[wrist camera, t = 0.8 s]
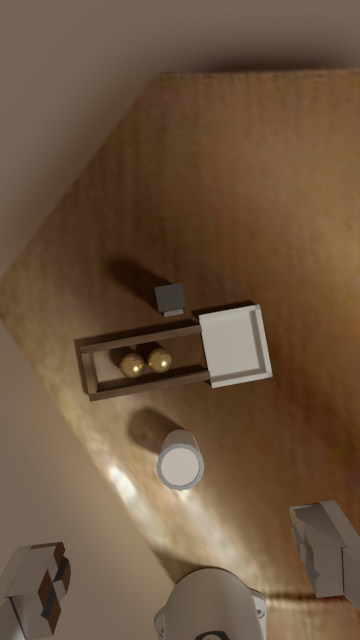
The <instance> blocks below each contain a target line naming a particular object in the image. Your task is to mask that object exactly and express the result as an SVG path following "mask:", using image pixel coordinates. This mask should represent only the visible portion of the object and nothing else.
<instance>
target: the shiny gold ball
mask: <svg viewBox="0 0 360 640" xmlns="http://www.w3.org/2000/svg"><path fill="white" fill-rule="evenodd" d="M172 362H173V359H172V355H171V354H170V352H169V351H168V350H166V349H164V348H157V349H154V350H153V351H152V352H151V353H150V354H149V356H148V365H149V367H150V369H151V370H152V371H154V372H156V373H164V372H166V371H168V370H169V369H170V367H171V365H172Z"/></svg>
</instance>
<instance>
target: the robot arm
mask: <svg viewBox="0 0 360 640" xmlns="http://www.w3.org/2000/svg"><path fill="white" fill-rule="evenodd" d="M290 513H291V518H292V520H293V522H294V524H293V525H292V533H293V538H294V542H295V546H296V548H297V551H298V554H299V556H300V559H301V560H302V561H303V562H304V563H305V564H306V570H307V576H308V578H309V581H310V583H311V585H312V588H313V590H314V592H315V595H316V597H317V598H319V597H328V596H337V595H345V597H346V598H347V599H348V600H349V601H350V602H351V603H352V604H353V605H354V606H355V607H356V608H357V609H358V610H359V611H360V537H359V536H358V534H357V533H356V531H355V530H354V528H353V527H352V525H351V524H350V522H349V521H348V519H347V518H346V516H345V515H344V513H343V512H342V510H341V509H340V507H339V506H338V504H337V503H336V502H335V501H334V500H332V501H325V502H319V503H312V504H306V505H300V506H293V507H291V509H290ZM64 552H65V548H64V545H63V543H62V542H57V543H48V544H40V545H33V546H25V547H19V548H18V549H17V550H16V551H15V552H14V553H13V555H12V557H11V559H10V561H9V563H8V565H7V566H6V568H5V570H4V572H3V574H2V576H1V577H0V640H33V639H38V638H44V637H50V636H53V634H54V631H55V628H56V625H57V621H58V619H59V616H60V612H61V608H60V604H59V602H60V601H61V600H62V599H63V598H64V596H65V595H66V594H67V590H68V587H69V582H70V575H71V571H70V564H69V560H68V559H67V558H66V557H64V556H63V554H64ZM154 626H155V629H156V632H157V634H158V637H159V639H160V640H266V601H265V598H264V596H263V595H262V594H260V593H258V592H256V591H254V590H251V589H249V588H248V587H246V586H245V585H244V584H243V583H242V582H241V581H240V580H239V579H238V578H237V577H236V576H234V575H232V574H231V573H229V572H226V571H223V570H220V569H202V570H198V571H195V572H193V573H190V574H189V575H187V576H185V577H184V578H183V579H182V580H181V581H180V582H179V583H178V584H177V585H176V586H175V588H174V589H173V591H172V593H171V595H170V597H169V599H168V602H167V603H166V605H165V606H164V607H163V608H162V609H161V610H160V611H159V612H158V613H157V614H156V616H155V618H154ZM163 628H164V629H163Z"/></svg>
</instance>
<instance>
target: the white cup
mask: <svg viewBox="0 0 360 640" xmlns="http://www.w3.org/2000/svg"><path fill="white" fill-rule="evenodd" d="M203 470H204V463H203V458H202V455H201V453H200V450H199V448H198V445H197V443H196V440H195V438H194V437H193V435H192V434H191V433H189V432H188V431H186V430H181V429H179V430H174V431H172V432H171V433H169V434H168V435H167V436H166V438H165V439H164V442H163V446H162V449H161V452H160V455H159V458H158V463H157V471H158V476H159V478H160V479H161V481H162V482H163V484H165V485H166V486H168V487H169V488H171V489H175V490H179V491H180V490H186V489H190V488H191V487H193V486H194V485H196V484H197V483H198V482H199V480H200V479H201V477H202V475H203Z"/></svg>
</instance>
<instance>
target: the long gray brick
mask: <svg viewBox="0 0 360 640" xmlns="http://www.w3.org/2000/svg"><path fill="white" fill-rule="evenodd" d="M155 293H156V299H157V304H158V309H159V312H160V313H164V316H165V317H168V316H173V315H179V314H183V309H185V308H186V303H185V297H184V292H183V286H182V283H177V284H172V285H166V286H161V287H155Z"/></svg>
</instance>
